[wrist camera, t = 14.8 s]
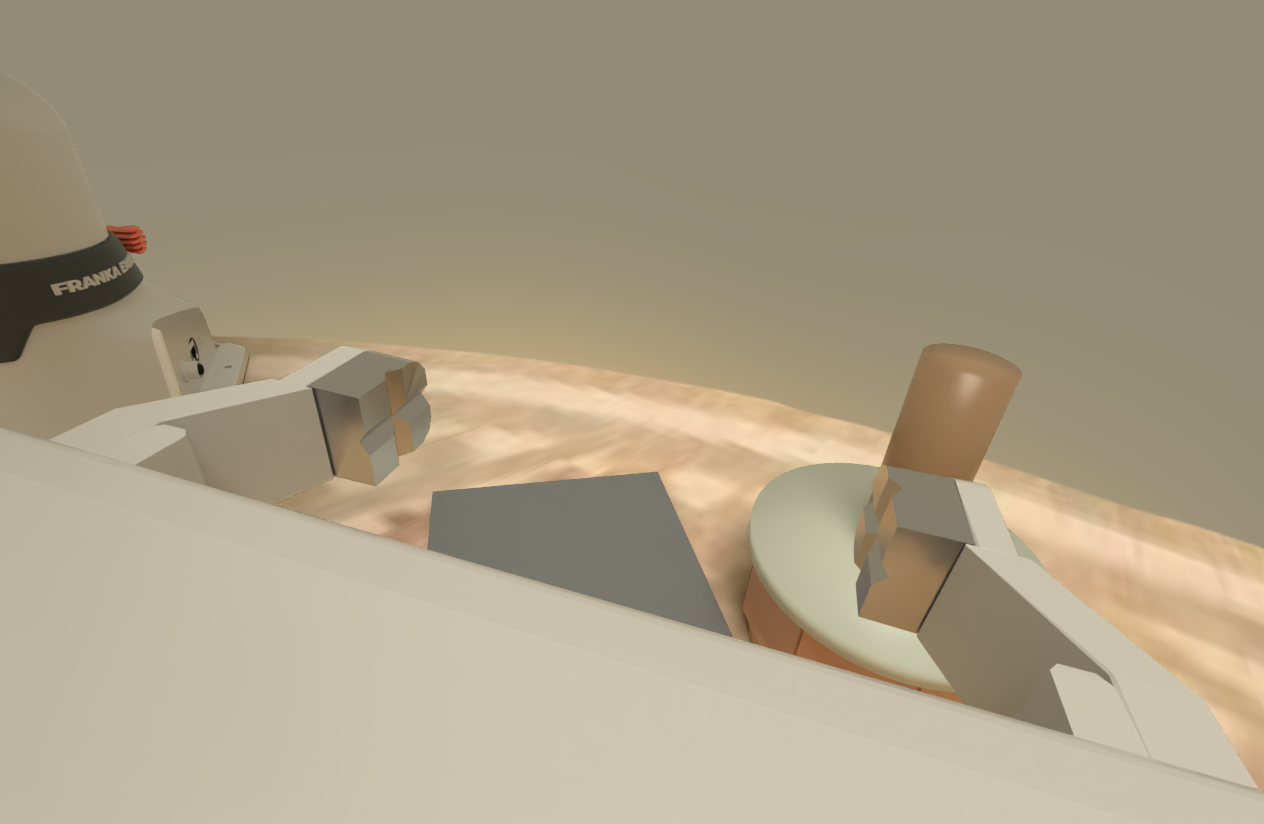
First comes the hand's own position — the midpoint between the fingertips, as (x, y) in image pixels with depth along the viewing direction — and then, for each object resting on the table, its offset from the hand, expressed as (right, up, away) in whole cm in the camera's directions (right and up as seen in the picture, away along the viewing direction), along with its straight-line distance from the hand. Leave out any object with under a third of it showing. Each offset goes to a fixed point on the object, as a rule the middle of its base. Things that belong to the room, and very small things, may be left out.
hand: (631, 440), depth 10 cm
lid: (+13, -7, +18) cm, 23 cm away
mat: (-4, -9, +25) cm, 26 cm away
